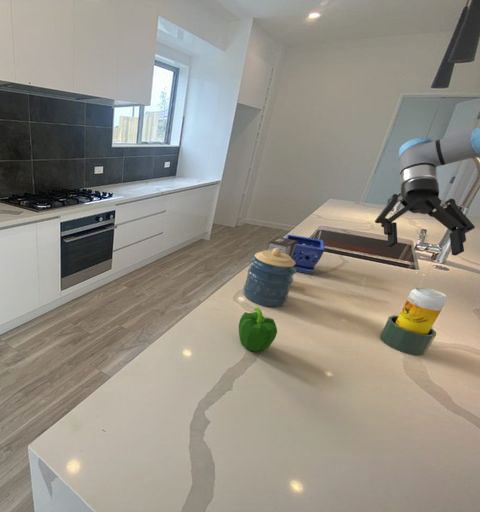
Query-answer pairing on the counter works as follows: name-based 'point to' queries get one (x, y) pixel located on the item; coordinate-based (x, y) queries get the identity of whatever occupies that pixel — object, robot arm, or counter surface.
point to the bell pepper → (256, 331)
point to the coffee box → (283, 245)
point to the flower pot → (306, 253)
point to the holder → (405, 338)
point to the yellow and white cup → (421, 310)
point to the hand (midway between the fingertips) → (424, 249)
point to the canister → (269, 278)
